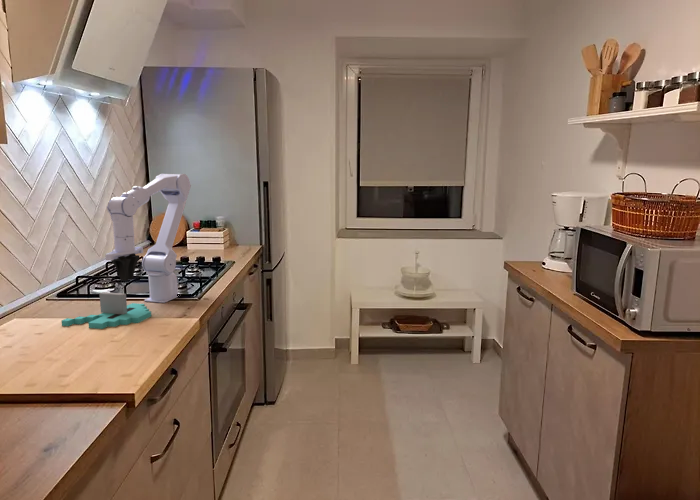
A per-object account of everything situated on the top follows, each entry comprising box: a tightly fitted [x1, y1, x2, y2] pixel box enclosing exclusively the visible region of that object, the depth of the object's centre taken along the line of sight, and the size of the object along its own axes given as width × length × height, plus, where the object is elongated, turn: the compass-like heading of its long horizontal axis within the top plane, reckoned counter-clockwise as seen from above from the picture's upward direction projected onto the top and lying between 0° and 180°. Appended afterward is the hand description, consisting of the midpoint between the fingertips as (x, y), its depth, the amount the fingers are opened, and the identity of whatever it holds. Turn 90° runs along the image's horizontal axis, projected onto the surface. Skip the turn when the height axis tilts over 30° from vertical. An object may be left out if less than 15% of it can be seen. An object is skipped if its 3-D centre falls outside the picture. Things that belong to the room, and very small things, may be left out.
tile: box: [98, 291, 128, 315], centre depth 151 cm, size 2×8×6 cm, turn 76°
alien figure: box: [60, 302, 152, 330], centre depth 152 cm, size 20×2×20 cm
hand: (126, 279), depth 156 cm, fingers closed
